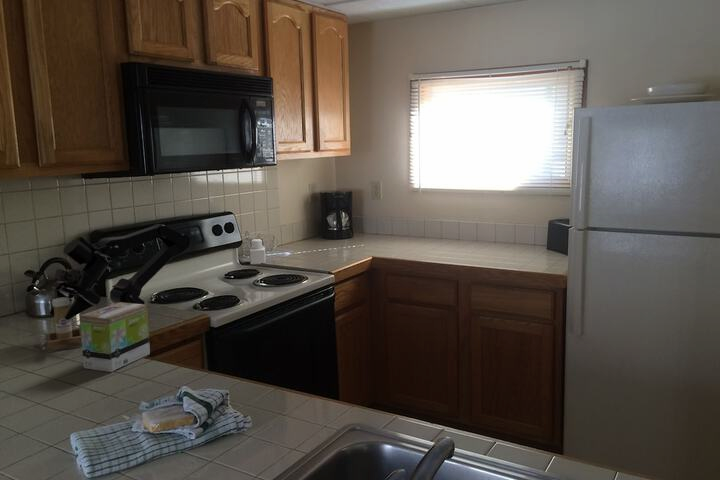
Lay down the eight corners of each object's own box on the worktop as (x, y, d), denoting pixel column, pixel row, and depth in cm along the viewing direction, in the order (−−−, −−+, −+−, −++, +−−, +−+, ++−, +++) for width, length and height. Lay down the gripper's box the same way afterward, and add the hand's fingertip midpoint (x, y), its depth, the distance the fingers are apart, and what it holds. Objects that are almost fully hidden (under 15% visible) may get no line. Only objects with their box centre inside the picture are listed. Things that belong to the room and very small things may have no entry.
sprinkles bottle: (60, 345, 180) (55, 301, 177) (54, 342, 183) (49, 299, 181) (76, 342, 183) (71, 298, 181) (70, 338, 186) (65, 296, 184)
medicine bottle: (251, 261, 305) (250, 238, 303) (265, 261, 305) (264, 237, 304) (250, 264, 298) (249, 240, 296) (265, 263, 298) (263, 239, 297)
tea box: (113, 373, 158) (108, 317, 155) (82, 369, 161) (77, 315, 159) (151, 354, 172) (147, 303, 169) (123, 350, 175) (118, 300, 173)
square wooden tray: (82, 336, 189) (81, 327, 189) (86, 345, 180) (85, 336, 180) (46, 342, 184) (45, 333, 184) (48, 352, 176) (47, 342, 175)
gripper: (55, 255, 187) (21, 297, 180) (86, 261, 176) (51, 307, 169) (82, 275, 194) (51, 317, 188) (114, 282, 183) (82, 327, 176)
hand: (58, 316), depth 180 cm, fingers open, 9 cm apart
